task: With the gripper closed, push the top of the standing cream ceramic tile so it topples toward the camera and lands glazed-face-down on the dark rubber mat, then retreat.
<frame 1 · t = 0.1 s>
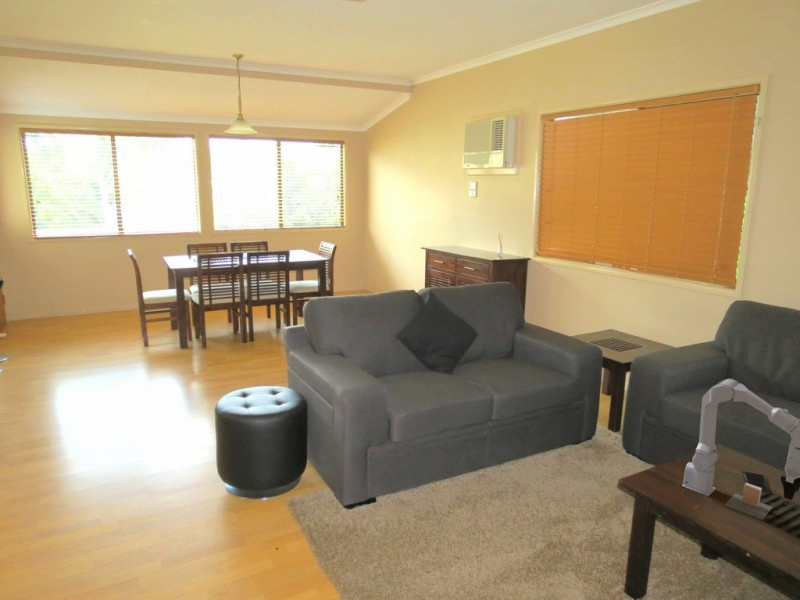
hand: (791, 494, 190), 10 cm above the table, fingers open, 7 cm apart
tile: (750, 503, 201), resting on mat
mat: (748, 506, 200), on the table
phone: (755, 484, 216), on the table
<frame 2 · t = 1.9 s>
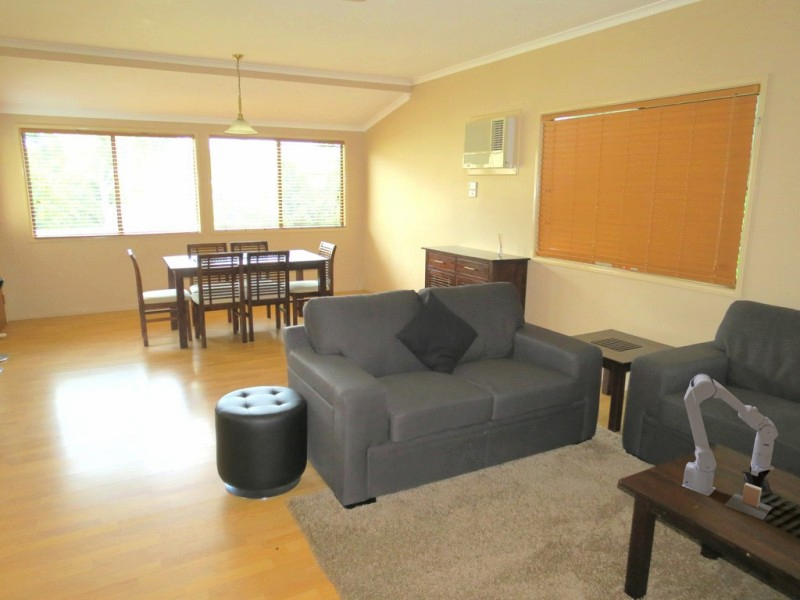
hand: (756, 486, 204), 5 cm above the table, fingers closed
nothing on the table moved.
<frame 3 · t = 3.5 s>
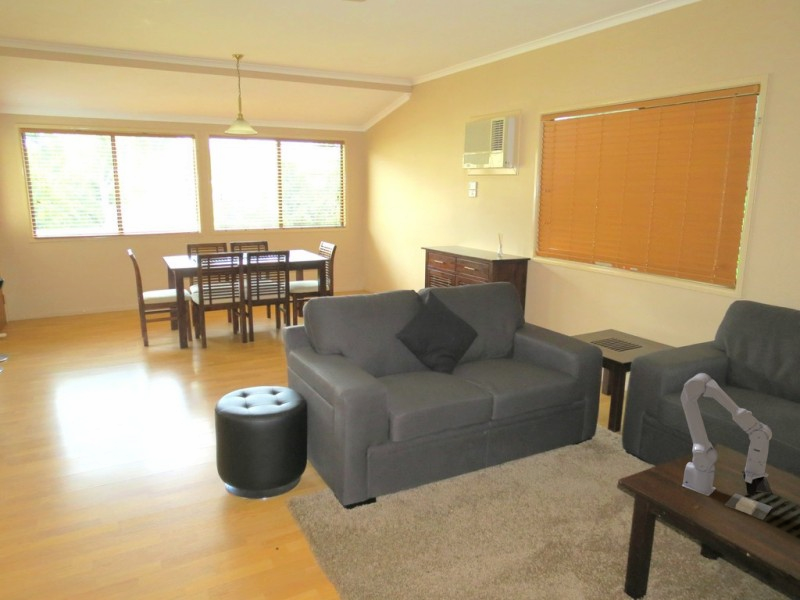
hand: (750, 494, 199), 5 cm above the table, fingers closed
tile: (749, 502, 200), point 1 cm above the table, tilted 90°, touching mat
everything else where it was.
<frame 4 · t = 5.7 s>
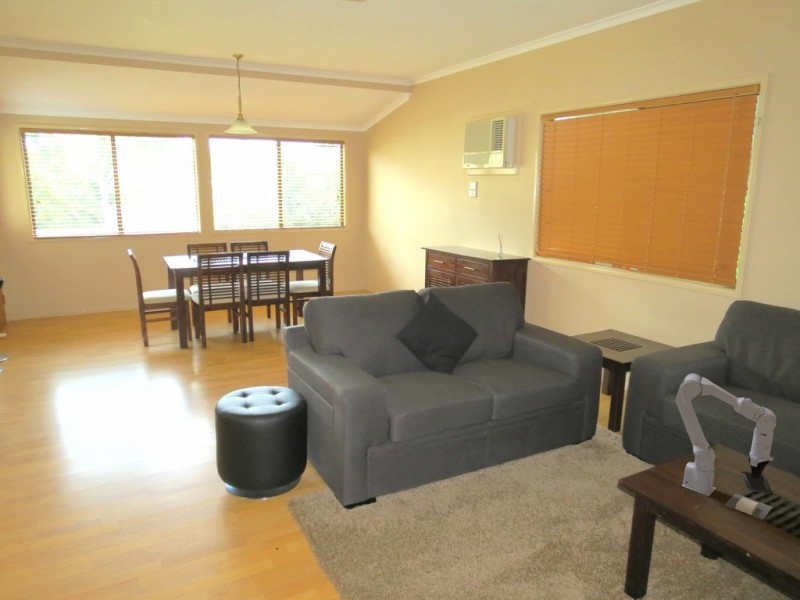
hand: (755, 478, 201), 10 cm above the table, fingers closed
nothing on the table moved.
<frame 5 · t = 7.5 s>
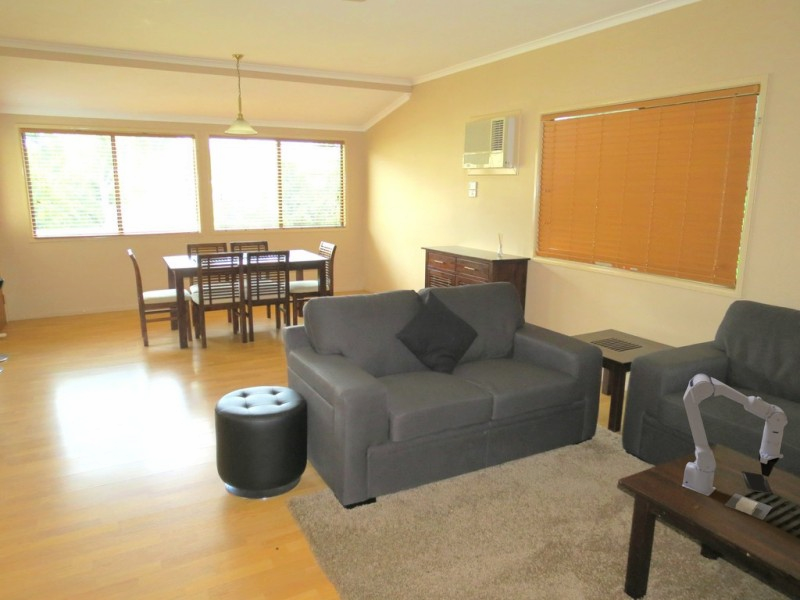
hand: (765, 475, 202), 10 cm above the table, fingers closed
nothing on the table moved.
at the end: tile tilted 90°; tile inside the target area on the mat (2.0 cm from its centre), point 1.5 cm above the mat's base; tile touching mat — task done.
